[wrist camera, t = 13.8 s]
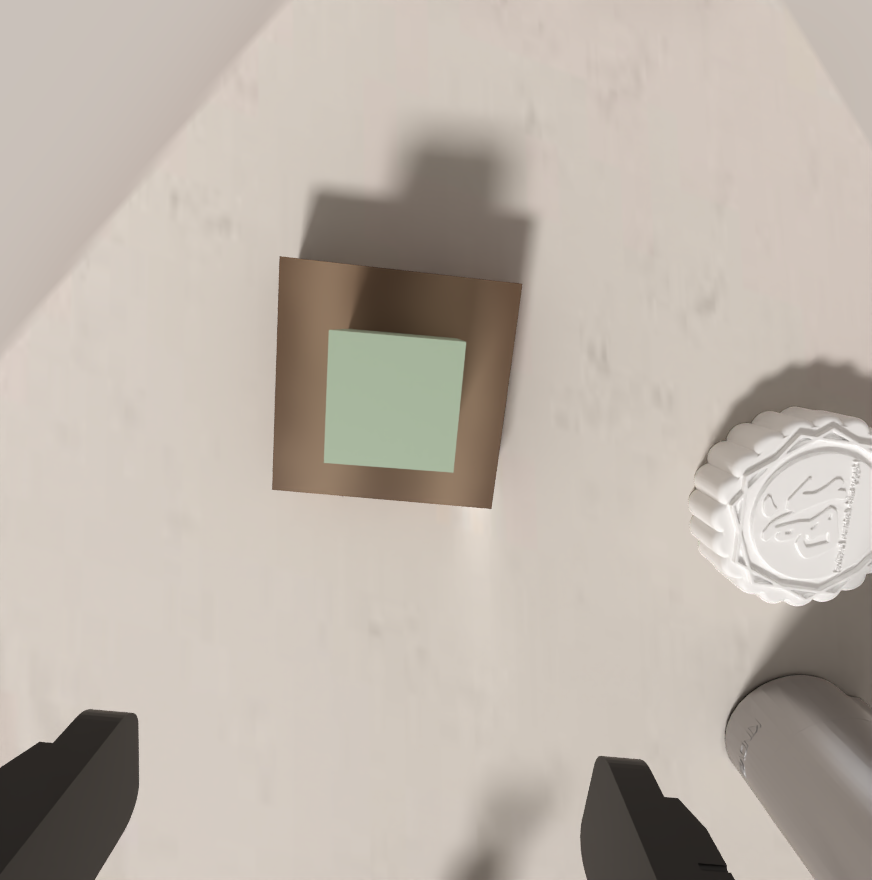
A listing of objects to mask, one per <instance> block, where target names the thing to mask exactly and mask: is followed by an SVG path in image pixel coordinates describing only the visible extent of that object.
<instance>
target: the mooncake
mask: <svg viewBox="0 0 872 880" xmlns="http://www.w3.org/2000/svg"><path fill="white" fill-rule="evenodd" d="M707 462H708V463H707V464H704V465H703V466H701V467H700V468H699V469H698V470H697V472H696V473H695V476H694V484H695V487H696V489H695V490H694V491H693V492H692V493H691V495H690V496H689V499H688V508H689V510H690V512H691V513H692V514H693V516H692V518H691V520H690V523H689V528H690V531H691V533H692V535H693V536H694V537H696V538H697V539H698V540H699V541H698V549H699V552H700V553H701V554H702V555H703V556H704V557H705V558H706V559H707V560H709V561H710V562H711V563H712V564H713V565H714V567H715V568H716V570H717V571H719V572H720V573H721V574H722V575H723V576H725V577H726V578H727V579H728V580H730V581H731V582H732V583H733V584H734V585H736V586H737V587H738V588H739V589H740V590H742V591H743V592H745V593H749V594H755V595H757V596H758V597H759V598H760V599H762V600H763V601H765V602H767V603H780V602H782V601H785V602H786V603H787V604H789V605H792V606H802V605H805V604H807V603H809V602H810V601H811V600H812V599H813V600H815V601H819V602H825V601H829V600H832V599H833V598H835V597H836V596H837V595H838V594H839V592H840V591H841V590H845V591H848V590H853V589H855V588H857V587H859V586H860V585H861V584H862V583H863V581H864V580H865V577H866V574H869V573H872V427H868V425H867V424H866V422H865V421H863V420H862V419H860V418H857V417H852V416H847V415H843V414H838V413H833V412H829V411H824V410H811V409H806V408H802V407H795V406H794V407H789V408H786V409H784V410H783V411H782V412H781V413H778V412H774V411H766V412H762V413H760V414H759V415H757V416H756V417H755V418H754V419H753V421H752V423H741V424H738V425H736V426H735V427H734V428H732V429H731V431H730V432H729V434H728V436H727V440H726V441H721V442H718V443H717V444H715V445H714V446H713V447H712V448H711V449H710V451H709V453H708V456H707Z"/></svg>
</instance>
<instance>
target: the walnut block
mask: <svg viewBox="0 0 872 880" xmlns="http://www.w3.org/2000/svg"><path fill="white" fill-rule="evenodd" d="M521 290H522V284H519V283H510V282H501V281H492V280H483V279H475V278H466V277H457V276H448V275H439V274H430V273H422V272H413V271H404V270H395V269H386V268H378V267H369V266H360V265H351V264H342V263H333V262H325V261H316V260H307V259H298V258H289V257H281V256H280V262H279V293H278V325H277V356H276V387H275V419H274V450H273V482H272V490H282V491H293V492H305V493H316V494H328V495H339V496H350V497H362V498H373V499H385V500H396V501H408V502H419V503H430V504H442V505H453V506H465V507H476V508H488V509H491V507H492V500H493V493H494V486H495V479H496V471H497V464H498V457H499V450H500V442H501V435H502V428H503V421H504V413H505V406H506V399H507V392H508V384H509V377H510V370H511V363H512V355H513V348H514V341H515V334H516V327H517V319H518V312H519V305H520V298H521ZM335 329H357V330H368V331H379V332H391V333H402V334H414V335H425V336H436V337H448V338H457V339H460V340H463V341H465V342H466V350H465V360H464V370H463V380H462V391H461V401H460V411H459V421H458V431H457V441H456V452H455V462H454V472H453V473H452V472H438V471H425V470H412V469H398V468H385V467H372V466H358V465H345V464H332V463H324V444H325V417H326V391H327V364H328V338H329V330H335Z"/></svg>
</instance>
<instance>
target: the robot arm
mask: <svg viewBox="0 0 872 880" xmlns="http://www.w3.org/2000/svg"><path fill="white" fill-rule="evenodd" d="M725 744H726V750H727V753H728V756H729V758H730V760H731V761H732V763H733V764H734V766H735V767H736V769H737V770H738V771H739V773H740V774H741V776H742V777H743V778H744V780H745V781H746V783H747V784H748V786H749V787H750V788H751V790H752V791H753V793H754V794H755V795H756V797H757V798H758V800H759V801H760V803H761V804H762V805H763V807H764V808H765V810H766V811H767V813H768V814H769V816H770V817H771V819H772V820H773V821H774V823H775V824H776V826H777V827H778V828H779V830H780V831H781V833H782V834H783V835H784V837H785V838H786V840H787V841H788V843H789V844H790V845H791V847H792V848H793V850H794V851H795V852H796V854H797V855H798V857H799V858H800V859H801V861H802V862H803V864H804V865H805V866H806V868H807V869H808V871H809V872H810V873H811V875H812V876H813V878H814V879H815V880H872V708H871V707H870V706H869V705H868V704H867V703H865V702H864V701H863V700H862V699H861V698H858V697H850V696H847V695H846V694H845V693H844V692H843V691H842V690H840V689H839V688H838V687H837V686H836V685H834V684H832V683H831V682H829V681H827V680H825V679H822V678H819V677H815V676H808V675H794V676H785V677H782V678H779V679H775V680H772V681H770V682H768V683H766V684H764V685H762V686H760V687H758V688H757V689H755V690H754V691H753V692H751V693H750V694H748V695H747V696H746V697H745V698H744V699H743V700H742V701H741V702H740V703H739V704H738V706H737V707H736V709H735V710H734V712H733V713H732V715H731V717H730V720H729V722H728V725H727V728H726V735H725ZM138 789H139V739H138V718H137V716H136V714H134V713H127V712H115V711H104V710H93V709H88V710H85V711H83V712H82V713H81V714H79V715H78V716H77V717H76V718H75V719H74V721H73V722H72V723H71V724H70V725H69V726H68V727H67V728H66V729H65V730H64V732H63V733H62V734H61V735H60V736H59V737H58V738H57V739H56V740H55V741H54V743H46V742H39V743H37V744H36V745H34V746H33V747H31V748H30V749H28V750H26V751H25V752H23V753H22V754H20V755H19V756H17V757H16V758H14V759H13V760H11V761H10V762H8V763H7V764H5V765H4V766H2V767H1V768H0V880H95V878H96V877H97V875H98V873H99V872H100V870H101V868H102V867H103V865H104V863H105V862H106V860H107V859H108V857H109V855H110V854H111V852H112V850H113V849H114V847H115V845H116V844H117V842H118V840H119V839H120V837H121V835H122V834H123V832H124V830H125V828H126V826H127V824H128V822H129V820H130V818H131V815H132V812H133V810H134V807H135V803H136V800H137V795H138ZM580 840H581V854H582V860H583V865H584V870H585V874H586V877H587V880H735V879H734V878H733V876H732V874H731V873H728V871H727V865H726V863H725V861H724V860H723V858H722V856H721V854H720V852H719V851H718V849H717V847H716V845H715V843H714V842H713V840H712V838H711V836H710V835H709V833H708V831H707V829H706V828H705V827H704V826H703V825H702V824H701V823H700V822H699V821H698V819H697V818H696V817H695V816H694V815H693V814H692V813H691V812H690V811H689V810H688V809H687V808H686V806H685V805H684V804H683V803H682V802H681V801H680V800H679V799H678V798H668V797H664V796H663V794H662V792H661V790H660V788H659V786H658V784H657V782H656V780H655V778H654V776H653V774H652V772H651V770H650V768H649V767H648V765H647V764H646V763H645V762H644V761H643V760H640V759H629V758H617V757H606V756H599V757H598V758H597V759H596V762H595V765H594V769H593V773H592V778H591V782H590V787H589V791H588V796H587V800H586V805H585V809H584V814H583V818H582V823H581V834H580Z"/></svg>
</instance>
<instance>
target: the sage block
mask: <svg viewBox="0 0 872 880" xmlns="http://www.w3.org/2000/svg"><path fill="white" fill-rule="evenodd" d="M465 350H466V342H465V341H463V340H460V339H457V338H448V337H436V336H425V335H414V334H402V333H391V332H379V331H368V330H357V329H335V330H329V338H328V364H327V391H326V417H325V444H324V463H332V464H345V465H358V466H372V467H385V468H398V469H412V470H425V471H438V472H452V473H453V472H454V462H455V452H456V441H457V431H458V421H459V411H460V401H461V391H462V380H463V370H464V360H465Z"/></svg>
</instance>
